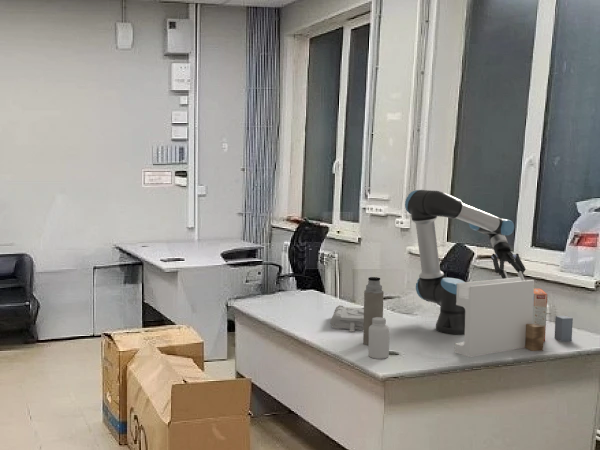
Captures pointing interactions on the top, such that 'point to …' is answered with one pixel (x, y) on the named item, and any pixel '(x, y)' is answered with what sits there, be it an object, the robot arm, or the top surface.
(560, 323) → the slate block
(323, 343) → the top surface
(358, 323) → the gray tool case
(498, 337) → the block
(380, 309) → the thermos bottle
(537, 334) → the walnut block
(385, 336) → the pill bottle
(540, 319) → the cracker box
